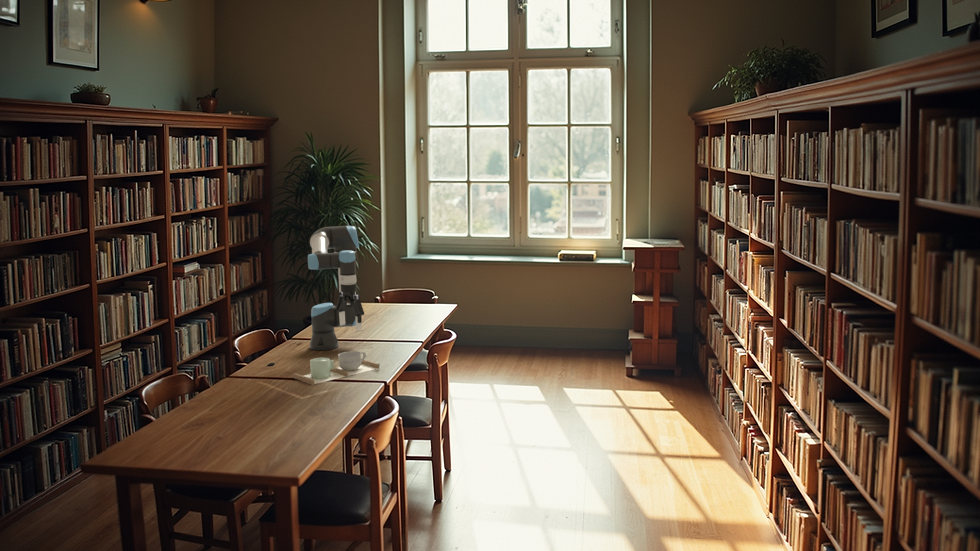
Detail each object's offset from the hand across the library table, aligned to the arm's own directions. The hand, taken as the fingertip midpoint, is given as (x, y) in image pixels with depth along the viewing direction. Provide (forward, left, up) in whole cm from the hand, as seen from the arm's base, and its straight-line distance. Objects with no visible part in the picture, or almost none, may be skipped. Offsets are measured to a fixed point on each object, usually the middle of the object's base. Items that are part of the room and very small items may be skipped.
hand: (350, 327), depth 399 cm
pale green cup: (+3, -18, -20) cm, 27 cm away
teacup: (+3, -1, -20) cm, 20 cm away
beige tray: (+3, -11, -21) cm, 23 cm away
